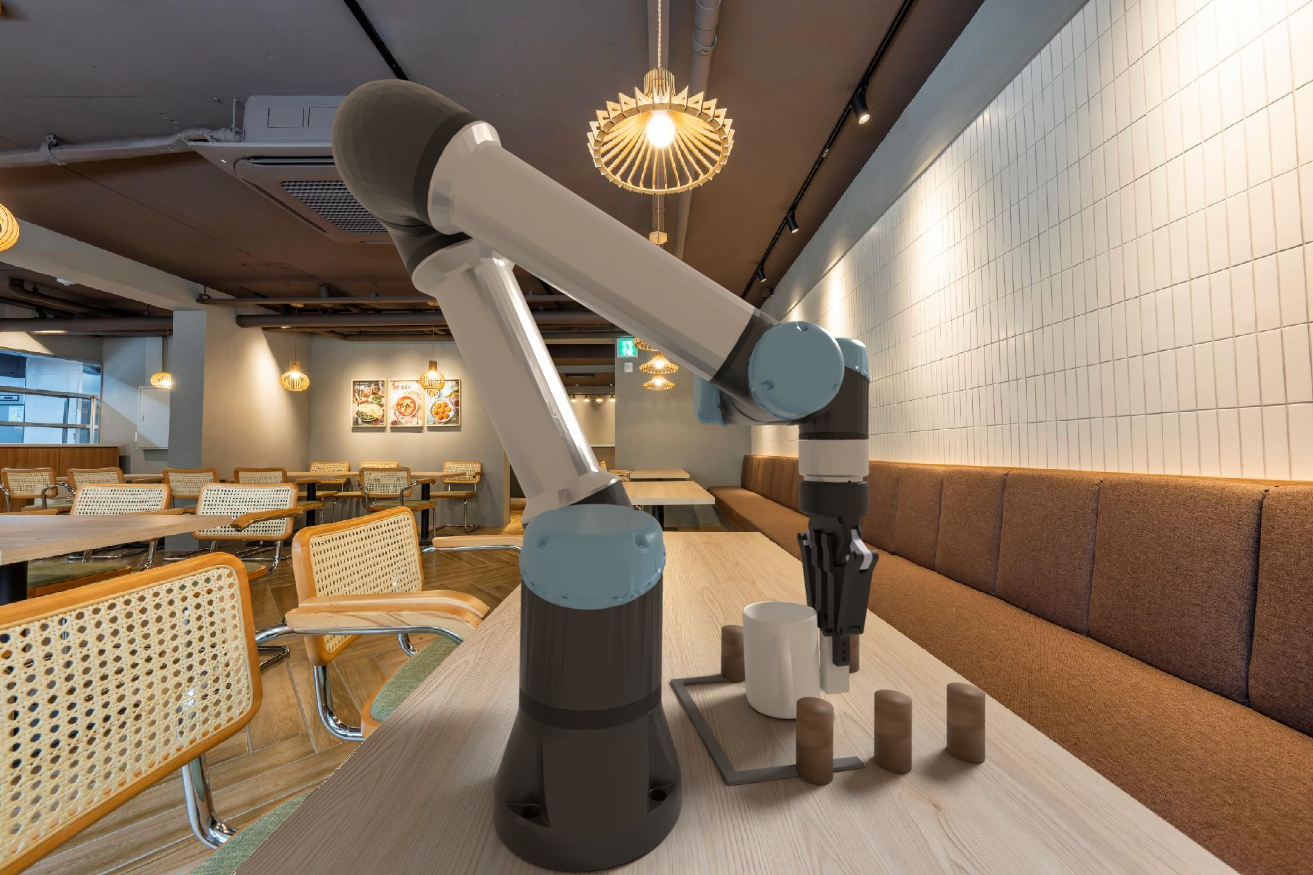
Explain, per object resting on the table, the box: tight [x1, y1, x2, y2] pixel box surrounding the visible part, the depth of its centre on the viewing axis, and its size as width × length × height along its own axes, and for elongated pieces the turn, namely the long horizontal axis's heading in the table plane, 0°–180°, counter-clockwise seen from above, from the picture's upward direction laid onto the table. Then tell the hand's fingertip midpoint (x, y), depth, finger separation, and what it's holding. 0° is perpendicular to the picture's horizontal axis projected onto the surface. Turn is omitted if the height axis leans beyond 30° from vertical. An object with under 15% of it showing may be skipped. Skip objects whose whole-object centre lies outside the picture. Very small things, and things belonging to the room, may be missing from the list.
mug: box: [741, 600, 822, 720], centre depth 58 cm, size 12×8×10 cm
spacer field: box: [720, 624, 986, 786], centre depth 58 cm, size 19×23×6 cm
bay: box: [670, 674, 866, 786], centre depth 56 cm, size 13×20×1 cm, turn 13°
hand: (834, 690), depth 58 cm, fingers closed
